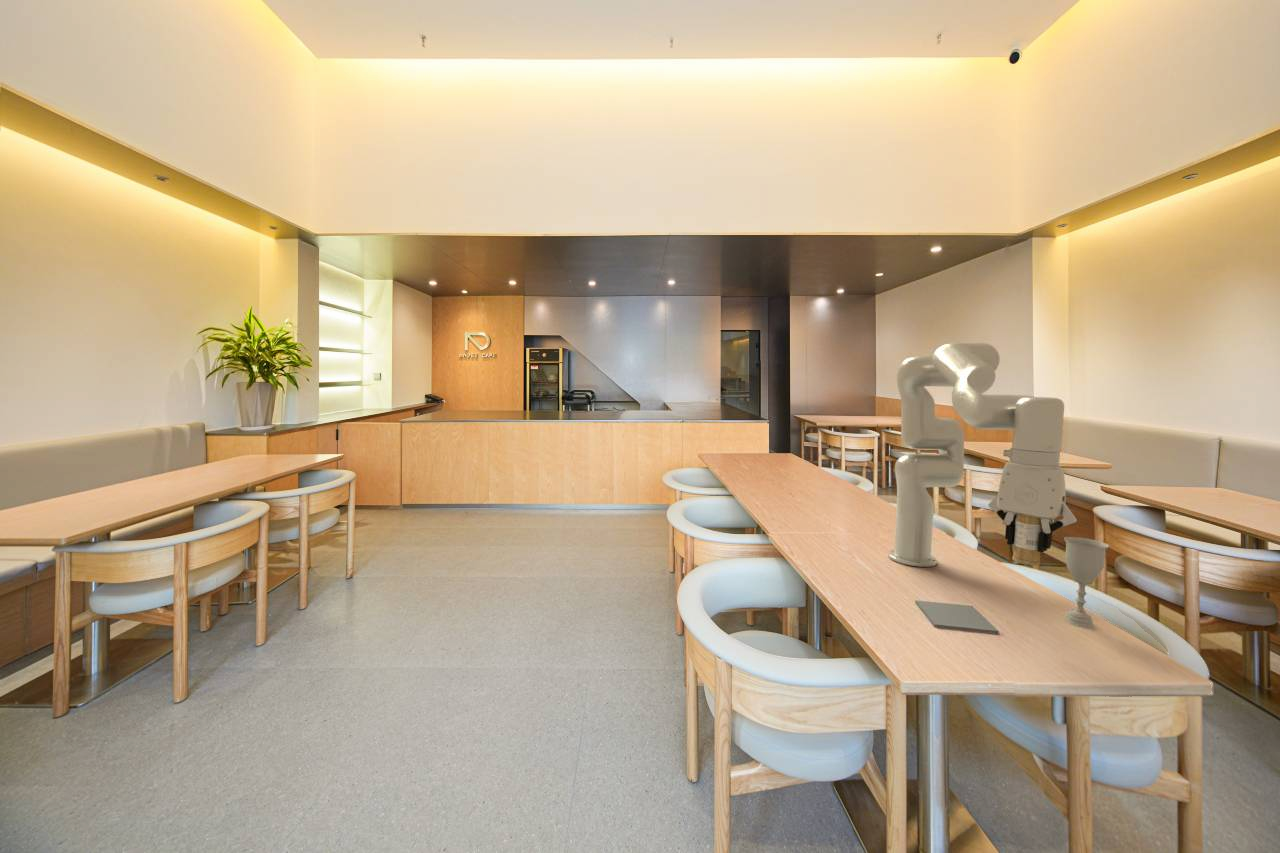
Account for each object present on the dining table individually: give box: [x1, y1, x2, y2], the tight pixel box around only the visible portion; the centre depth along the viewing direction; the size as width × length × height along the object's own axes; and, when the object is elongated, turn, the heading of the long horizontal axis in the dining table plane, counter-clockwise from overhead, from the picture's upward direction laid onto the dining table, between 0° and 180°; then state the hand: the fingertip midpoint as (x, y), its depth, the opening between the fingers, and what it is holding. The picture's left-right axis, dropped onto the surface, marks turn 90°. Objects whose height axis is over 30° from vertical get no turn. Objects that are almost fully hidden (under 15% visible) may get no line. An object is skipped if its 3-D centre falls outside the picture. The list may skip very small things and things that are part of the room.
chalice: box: [1063, 536, 1110, 629], centre depth 105 cm, size 7×7×18 cm
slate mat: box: [914, 599, 999, 635], centre depth 107 cm, size 12×12×1 cm
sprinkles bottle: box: [1011, 514, 1042, 567], centre depth 98 cm, size 5×5×13 cm
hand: (1027, 546), depth 98 cm, fingers closed on sprinkles bottle, 4 cm apart
